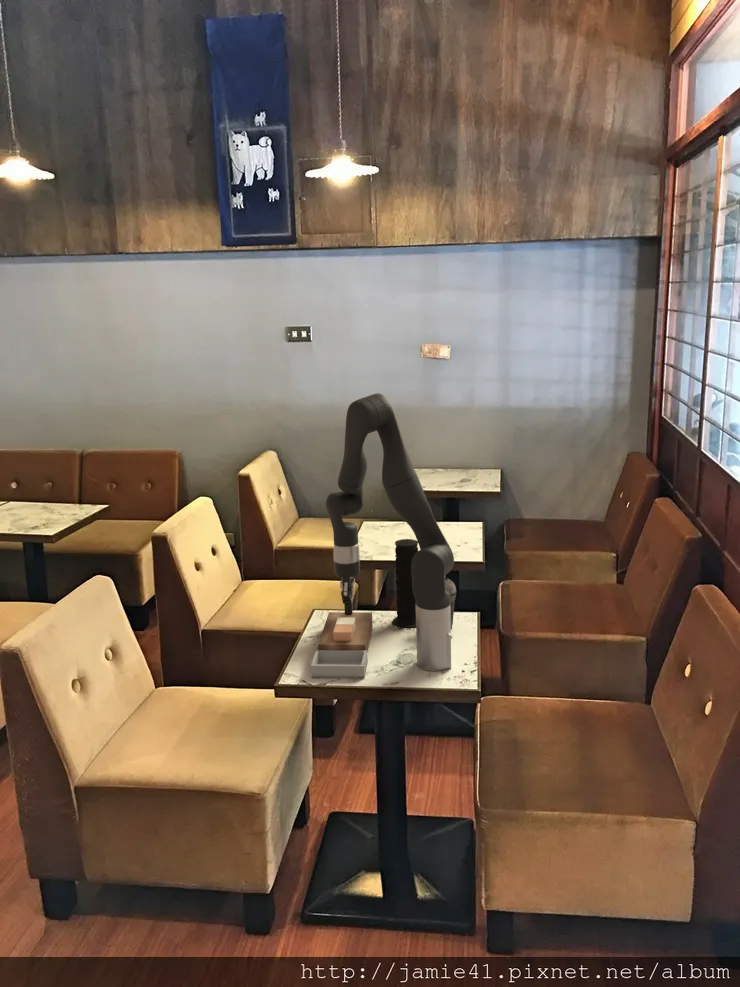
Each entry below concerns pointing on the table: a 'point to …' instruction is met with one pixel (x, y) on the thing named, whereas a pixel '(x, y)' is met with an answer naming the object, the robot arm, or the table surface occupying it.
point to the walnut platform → (359, 637)
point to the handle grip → (405, 584)
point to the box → (339, 664)
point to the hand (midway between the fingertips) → (348, 614)
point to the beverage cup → (451, 596)
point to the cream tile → (346, 621)
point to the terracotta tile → (343, 633)
